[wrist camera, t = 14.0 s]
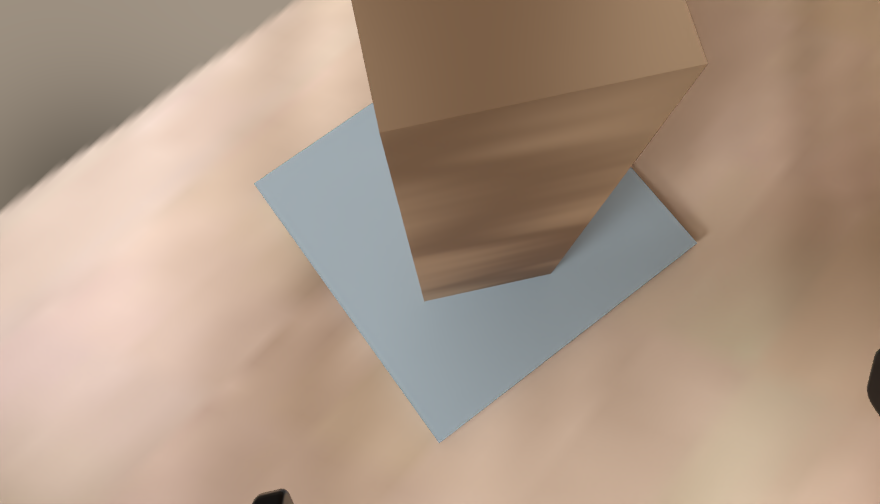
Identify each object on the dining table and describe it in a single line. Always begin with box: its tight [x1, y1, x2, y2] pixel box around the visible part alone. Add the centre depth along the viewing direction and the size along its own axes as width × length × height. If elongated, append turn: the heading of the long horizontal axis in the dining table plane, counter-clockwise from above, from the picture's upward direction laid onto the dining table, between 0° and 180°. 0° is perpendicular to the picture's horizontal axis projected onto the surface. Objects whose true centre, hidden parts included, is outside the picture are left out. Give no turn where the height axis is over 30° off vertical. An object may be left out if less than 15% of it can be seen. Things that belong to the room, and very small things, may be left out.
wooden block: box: [351, 0, 708, 301], centre depth 14 cm, size 4×5×12 cm
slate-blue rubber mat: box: [254, 103, 697, 443], centre depth 21 cm, size 10×10×1 cm
